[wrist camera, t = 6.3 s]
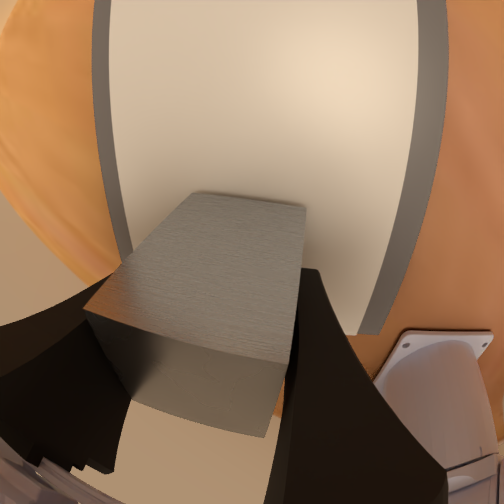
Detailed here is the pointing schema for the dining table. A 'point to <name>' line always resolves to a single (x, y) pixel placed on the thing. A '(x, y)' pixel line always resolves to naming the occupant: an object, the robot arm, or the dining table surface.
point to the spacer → (206, 311)
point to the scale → (279, 124)
